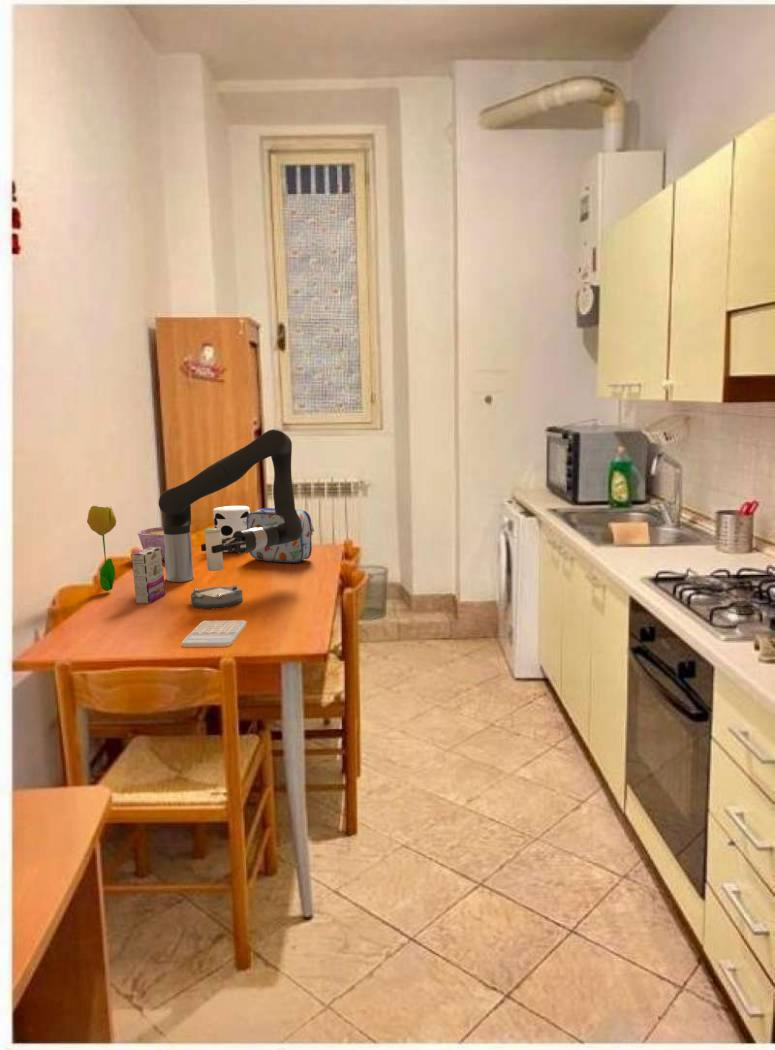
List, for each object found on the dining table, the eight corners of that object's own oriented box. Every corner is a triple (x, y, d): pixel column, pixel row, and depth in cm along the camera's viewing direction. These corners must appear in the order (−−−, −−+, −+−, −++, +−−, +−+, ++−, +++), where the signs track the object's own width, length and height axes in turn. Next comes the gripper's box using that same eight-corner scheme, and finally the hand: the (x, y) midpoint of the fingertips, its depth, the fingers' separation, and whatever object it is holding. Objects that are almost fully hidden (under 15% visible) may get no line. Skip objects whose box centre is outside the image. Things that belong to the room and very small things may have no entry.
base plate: (181, 603, 243) (180, 590, 242) (222, 593, 255) (221, 580, 254) (211, 612, 233) (210, 598, 232) (252, 600, 244) (252, 587, 244)
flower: (111, 596, 255) (104, 507, 250) (90, 595, 256) (81, 507, 251) (125, 589, 263) (118, 503, 258) (104, 589, 265) (96, 503, 260)
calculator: (247, 625, 220) (247, 619, 219) (230, 648, 200) (230, 641, 200) (202, 626, 220) (201, 619, 220) (180, 648, 201) (179, 641, 200)
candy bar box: (152, 594, 255) (148, 546, 253) (165, 595, 254) (162, 546, 252) (134, 603, 245) (130, 553, 242) (149, 604, 244) (145, 553, 241)
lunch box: (318, 560, 303) (316, 505, 300) (306, 565, 294) (303, 509, 290) (259, 556, 314) (256, 503, 310) (245, 561, 304) (242, 506, 301)
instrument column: (204, 569, 242) (201, 529, 240) (217, 566, 245) (214, 527, 243) (213, 571, 239) (210, 531, 236) (226, 568, 242) (224, 528, 240)
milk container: (262, 548, 329) (260, 507, 326) (228, 555, 317) (226, 512, 314) (238, 544, 341) (236, 504, 338) (205, 550, 329) (202, 509, 326)
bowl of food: (129, 560, 312) (127, 532, 310) (168, 551, 328) (166, 525, 326) (161, 565, 301) (159, 536, 299) (200, 556, 317) (198, 528, 315)
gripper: (235, 526, 255) (192, 535, 243) (263, 530, 246) (219, 539, 233) (237, 548, 257) (194, 558, 244) (264, 553, 247) (221, 563, 235)
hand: (207, 548), depth 239 cm, fingers closed on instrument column, 5 cm apart
